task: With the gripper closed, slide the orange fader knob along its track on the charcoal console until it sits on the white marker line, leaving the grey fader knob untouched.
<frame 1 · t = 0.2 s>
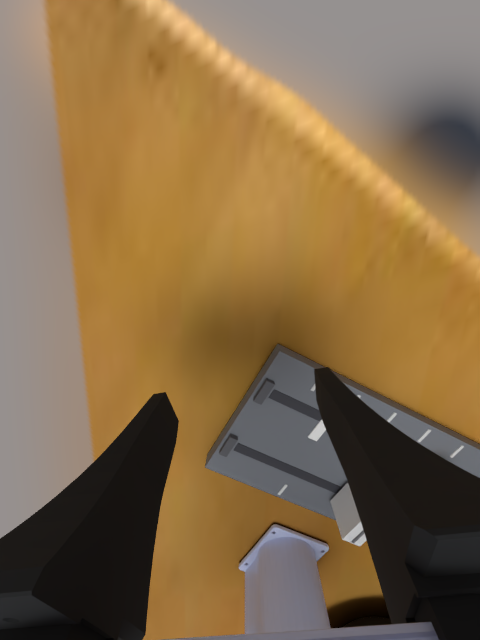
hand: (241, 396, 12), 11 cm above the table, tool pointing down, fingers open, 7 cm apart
console: (343, 451, 27), on the table
planter: (369, 629, 38), on the table
grey fader knob: (353, 513, 24), point 4 cm above the table, slide at 0.0 cm
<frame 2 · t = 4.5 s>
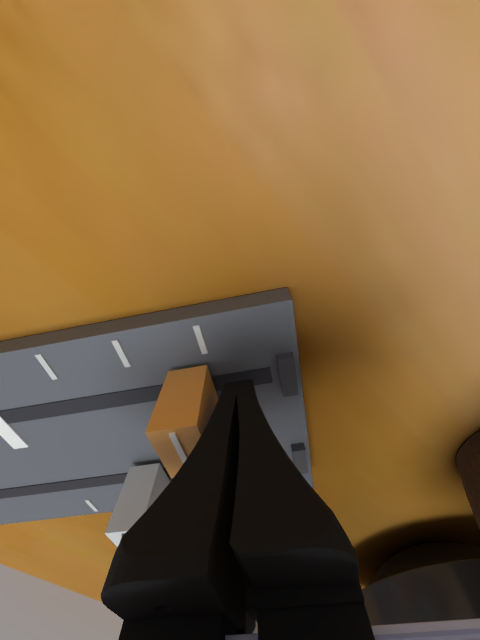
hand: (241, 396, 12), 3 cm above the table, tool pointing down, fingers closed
console: (114, 424, 17), on the table
planter: (425, 556, 28), on the table
orange fader knob: (190, 418, 11), point 4 cm above the table, slide at 0.0 cm, touching gripper
grey fader knob: (144, 508, 15), point 4 cm above the table, slide at 0.0 cm
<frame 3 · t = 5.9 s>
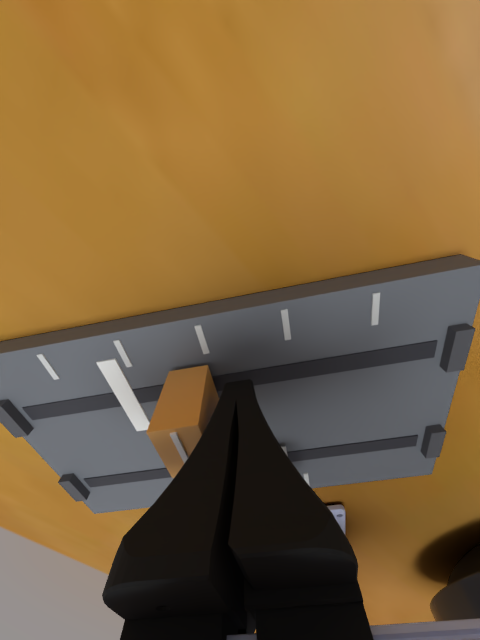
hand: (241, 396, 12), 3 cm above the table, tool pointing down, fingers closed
console: (231, 407, 16), on the table
orange fader knob: (191, 418, 11), point 4 cm above the table, slide at 8.0 cm, touching gripper
grey fader knob: (276, 493, 14), point 4 cm above the table, slide at 0.0 cm
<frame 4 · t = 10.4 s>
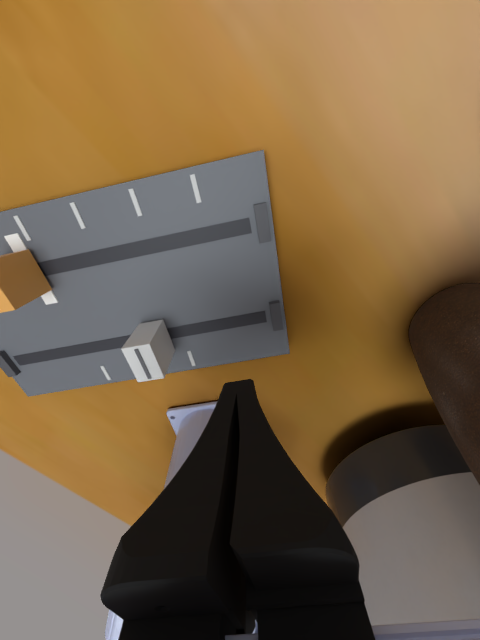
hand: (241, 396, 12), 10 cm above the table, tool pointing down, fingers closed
console: (126, 294, 21), on the table
planter: (395, 455, 31), on the table
plant pot: (449, 319, 22), on the table
orange fader knob: (7, 281, 16), point 4 cm above the table, slide at 12.2 cm
grey fader knob: (150, 349, 19), point 4 cm above the table, slide at 0.0 cm
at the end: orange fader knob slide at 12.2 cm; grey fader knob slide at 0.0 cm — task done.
